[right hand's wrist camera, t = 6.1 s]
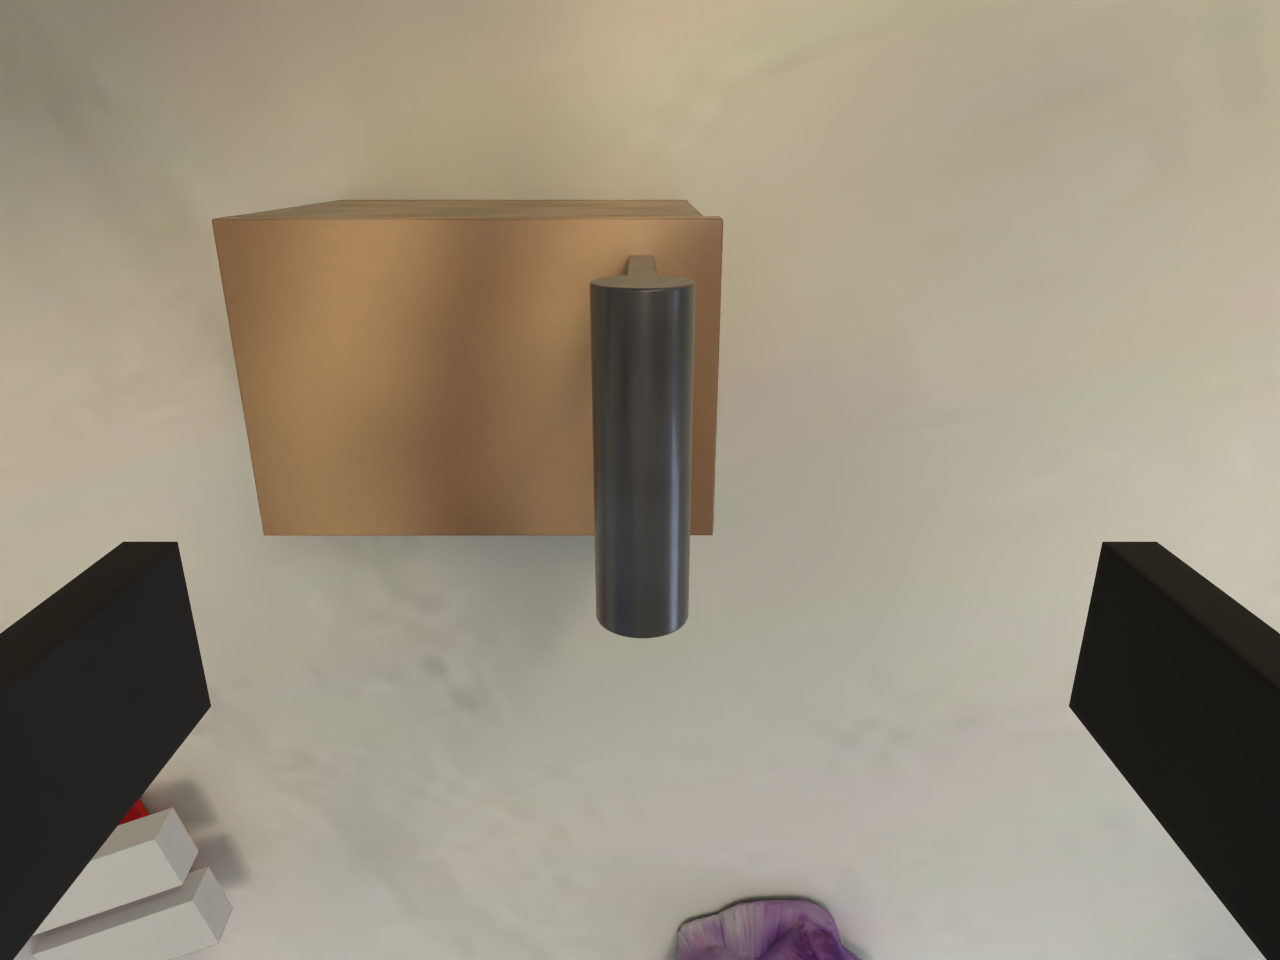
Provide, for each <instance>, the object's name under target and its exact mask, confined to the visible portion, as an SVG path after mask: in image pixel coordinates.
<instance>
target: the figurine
mask: <svg viewBox="0 0 1280 960" xmlns="http://www.w3.org/2000/svg"><path fill="white" fill-rule="evenodd" d="M677 946H678V949H677V950H678V952H677V954H678V955H677V958H678V959H677V960H862V959H861V958H859V957H858V956H856V955H855V954H853V953H852V952H850V951H849V950H848V949H846V948H845V947H843V946H842V945H841V943H840V939H839V935H838V931H837V928H836V925H835V922H834V919H833V917H832V916H831V914H830V913H829V912H828V911H827V910H826V909H824V908H823V907H821V906H819V905H817V904H814V903H813V902H811V901H808V900H804V899H797V900H760V901H752V902H746V903H742V902H740V903H738V904H737V905H735V906H732V907H730V908H727V909H725V910H723V911H721V912H719V913H718V914H716V915H712V916H709V917H703V918H701V919H695V920H693V921H691V922H688V923H686V924H684V925H683V926H682V927H681V929H680V931H679V933H678V945H677Z"/></svg>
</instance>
